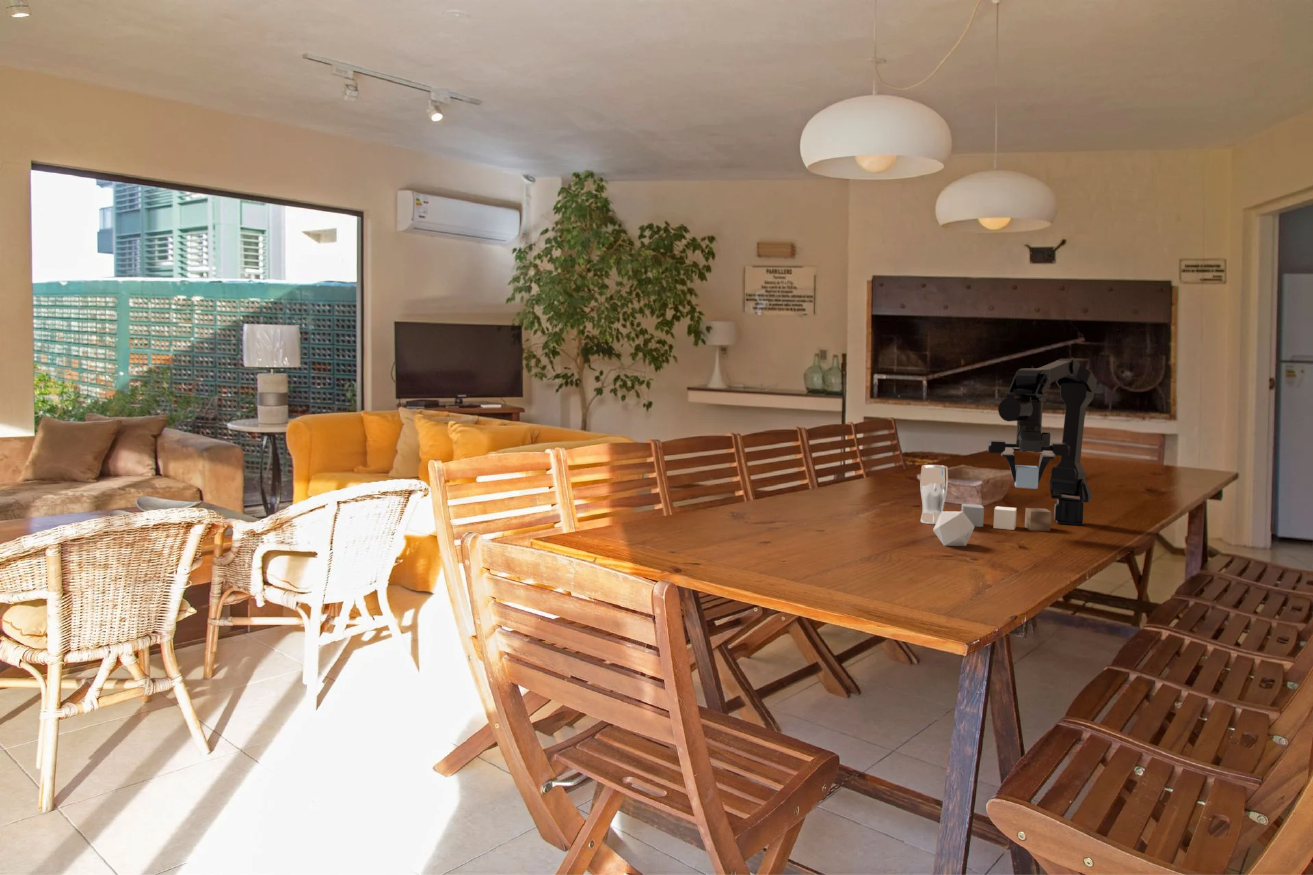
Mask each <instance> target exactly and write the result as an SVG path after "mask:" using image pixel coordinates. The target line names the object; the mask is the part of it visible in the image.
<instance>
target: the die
mask: <svg viewBox="0 0 1313 875" xmlns="http://www.w3.org/2000/svg"><path fill="white" fill-rule="evenodd" d="M974 530H975V526H974V525H973V524H972V523H971V521H970V520H969V519H968V517H967V516H966V515H965V513H964V512H963V511H962V510H960V511H954V510H953V511H948V510H945V511H944V510H943V511H941V514H940V516H939V518H938V520H937V523H936V525H934V527H933V529H932V531H933V533H934V534H935V535H936V536H937V538H938V540H939V541H940V542H941V543H942V545H943V547H967V545H968V542H969V540H970V538H971V536H972V534H973V531H974Z"/></svg>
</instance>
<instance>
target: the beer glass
mask: <svg viewBox="0 0 1313 875" xmlns="http://www.w3.org/2000/svg"><path fill="white" fill-rule="evenodd" d="M948 478H949V470H948V466H946V465H941V464H923V465H921V470H920V478H919V479H920V480H919V482H920V483H919V485H920V486H919V487H920V489H919V490H920V496H921V503H922V504H921V505H922V509H921V510H922V511H921V516H920V521H919V522H920V523H922V524H926V525H934V526H935V525H936V523H937V520H938V518H939V516H940V514H941V511H944V506H945V501H946V497H947V493H948V485H949V484H948V483H949V482H948V481H949V479H948Z"/></svg>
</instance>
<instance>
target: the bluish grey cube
mask: <svg viewBox="0 0 1313 875" xmlns="http://www.w3.org/2000/svg"><path fill="white" fill-rule="evenodd" d="M1015 469H1016V482H1014V487H1015V488H1018V489H1034V490H1035V489H1036V490H1037V489H1039V488H1038V487H1039V483H1038V474H1039V468H1038V465H1023V464H1022V465H1021V464H1015Z"/></svg>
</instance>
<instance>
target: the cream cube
mask: <svg viewBox="0 0 1313 875" xmlns="http://www.w3.org/2000/svg"><path fill="white" fill-rule="evenodd" d="M1016 524H1017V507H1009V506H998V505H997V506H995V507H994V511H993V527H992V528H993V529H1000V530H1001V529H1002V530H1011V531H1012V530H1013V531H1014V530H1015V529H1016Z"/></svg>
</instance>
